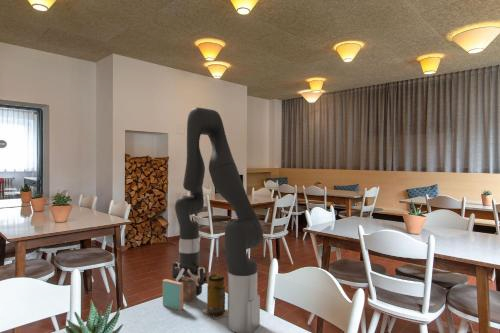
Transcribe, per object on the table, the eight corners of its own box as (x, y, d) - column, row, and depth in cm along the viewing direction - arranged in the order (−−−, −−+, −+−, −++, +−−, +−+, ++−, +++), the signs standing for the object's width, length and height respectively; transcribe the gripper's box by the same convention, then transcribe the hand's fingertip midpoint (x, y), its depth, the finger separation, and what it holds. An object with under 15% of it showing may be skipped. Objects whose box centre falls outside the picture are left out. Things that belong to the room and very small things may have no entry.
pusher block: (196, 297, 121) (196, 279, 121) (190, 302, 118) (190, 282, 118) (188, 295, 123) (188, 277, 123) (181, 299, 120) (181, 281, 119)
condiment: (219, 304, 116) (219, 271, 115) (233, 313, 109) (233, 278, 109) (201, 310, 111) (201, 276, 111) (215, 320, 104) (215, 283, 104)
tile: (183, 308, 113) (183, 282, 112) (180, 310, 111) (180, 284, 111) (165, 303, 116) (165, 278, 116) (162, 305, 115) (162, 280, 115)
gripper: (210, 249, 120) (210, 292, 121) (180, 244, 127) (180, 285, 127) (198, 254, 114) (198, 300, 114) (167, 249, 120) (167, 292, 121)
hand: (189, 292), depth 121 cm, fingers open, 8 cm apart
